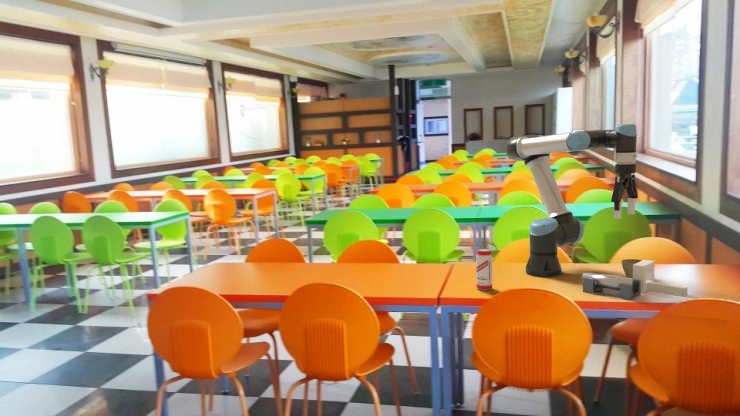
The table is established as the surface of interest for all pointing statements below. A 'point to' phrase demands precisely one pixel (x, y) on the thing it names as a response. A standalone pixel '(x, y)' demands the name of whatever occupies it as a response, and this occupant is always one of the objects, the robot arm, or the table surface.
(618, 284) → the axle
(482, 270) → the beer can
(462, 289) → the table surface
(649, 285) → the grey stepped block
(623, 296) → the v block
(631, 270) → the flower pot
